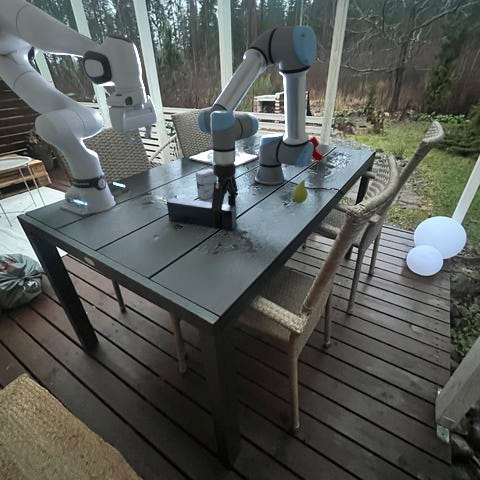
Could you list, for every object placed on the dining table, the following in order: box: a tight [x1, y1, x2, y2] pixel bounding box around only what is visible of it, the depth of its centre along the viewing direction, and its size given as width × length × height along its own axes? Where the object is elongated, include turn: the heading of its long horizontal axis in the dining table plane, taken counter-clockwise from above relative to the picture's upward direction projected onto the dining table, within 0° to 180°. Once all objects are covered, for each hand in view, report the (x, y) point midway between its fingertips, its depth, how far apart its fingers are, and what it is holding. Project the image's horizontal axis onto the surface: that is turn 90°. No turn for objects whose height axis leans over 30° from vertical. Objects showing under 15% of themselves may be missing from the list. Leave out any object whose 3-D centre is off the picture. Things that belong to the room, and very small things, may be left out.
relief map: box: [189, 148, 258, 168], centre depth 177 cm, size 27×35×5 cm
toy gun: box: [309, 135, 324, 163], centre depth 171 cm, size 18×4×15 cm
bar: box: [166, 196, 237, 232], centre depth 104 cm, size 26×5×8 cm, turn 72°
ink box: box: [195, 168, 218, 200], centre depth 125 cm, size 8×5×12 cm, turn 135°
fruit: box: [291, 174, 311, 204], centre depth 118 cm, size 7×8×12 cm
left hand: (140, 141), depth 96 cm, fingers open, 8 cm apart
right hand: (226, 219), depth 101 cm, fingers open, 13 cm apart
